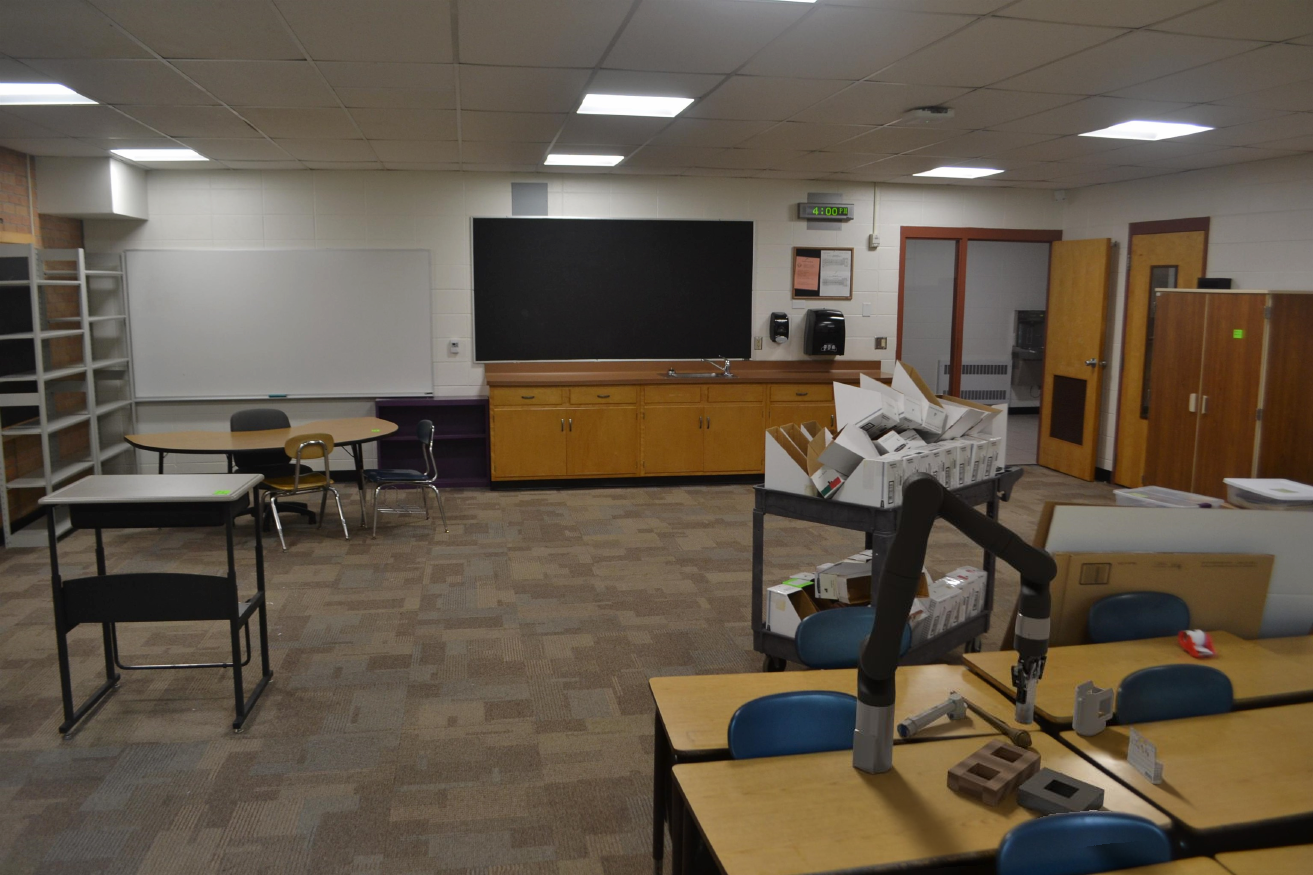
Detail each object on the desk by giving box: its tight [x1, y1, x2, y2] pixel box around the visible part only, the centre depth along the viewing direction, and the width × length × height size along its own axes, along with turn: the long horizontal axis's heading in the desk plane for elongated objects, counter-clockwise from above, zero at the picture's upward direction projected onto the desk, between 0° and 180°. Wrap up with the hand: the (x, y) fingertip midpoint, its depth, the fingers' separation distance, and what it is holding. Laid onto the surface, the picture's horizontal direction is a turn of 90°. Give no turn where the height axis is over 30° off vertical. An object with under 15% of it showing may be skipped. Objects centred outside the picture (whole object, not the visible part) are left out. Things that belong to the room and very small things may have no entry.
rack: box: [946, 737, 1042, 807], centre depth 224 cm, size 24×12×4 cm, turn 134°
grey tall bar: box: [1014, 674, 1037, 726], centre depth 220 cm, size 4×4×11 cm
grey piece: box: [896, 692, 968, 739], centre depth 252 cm, size 5×7×25 cm
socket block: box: [1016, 766, 1105, 816], centre depth 213 cm, size 14×14×4 cm
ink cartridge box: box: [1126, 726, 1164, 785], centre depth 227 cm, size 2×11×10 cm, turn 4°
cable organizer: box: [1071, 679, 1115, 737], centre depth 249 cm, size 7×13×12 cm, turn 125°
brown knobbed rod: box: [949, 690, 1033, 748], centre depth 254 cm, size 5×35×5 cm
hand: (1025, 699), depth 220 cm, fingers closed on grey tall bar, 4 cm apart
